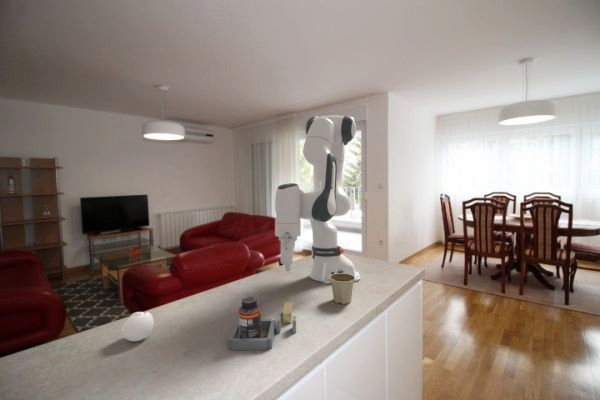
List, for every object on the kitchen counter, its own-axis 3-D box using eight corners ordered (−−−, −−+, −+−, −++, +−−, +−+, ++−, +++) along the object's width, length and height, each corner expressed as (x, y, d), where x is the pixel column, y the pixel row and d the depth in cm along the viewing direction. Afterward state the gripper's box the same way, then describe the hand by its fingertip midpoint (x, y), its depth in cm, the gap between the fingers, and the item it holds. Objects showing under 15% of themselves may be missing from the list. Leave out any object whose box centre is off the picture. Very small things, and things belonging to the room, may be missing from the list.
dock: (296, 326, 83) (296, 315, 83) (295, 349, 72) (295, 336, 72) (237, 327, 83) (237, 316, 83) (227, 350, 72) (227, 337, 72)
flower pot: (323, 301, 101) (323, 277, 100) (339, 293, 108) (338, 271, 107) (345, 308, 95) (345, 283, 94) (360, 299, 101) (360, 276, 101)
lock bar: (285, 311, 94) (284, 302, 93) (292, 311, 93) (292, 302, 93) (283, 323, 86) (283, 313, 85) (291, 323, 86) (291, 313, 85)
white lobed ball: (143, 329, 83) (142, 304, 83) (161, 335, 80) (159, 308, 80) (116, 343, 76) (114, 315, 76) (134, 350, 73) (132, 321, 72)
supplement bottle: (254, 331, 81) (252, 293, 81) (265, 339, 77) (264, 299, 76) (235, 339, 77) (234, 299, 77) (246, 348, 73) (245, 306, 72)
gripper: (296, 235, 86) (296, 279, 87) (297, 226, 107) (297, 262, 107) (275, 235, 86) (276, 279, 87) (281, 226, 107) (281, 262, 107)
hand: (288, 269), depth 97 cm, fingers closed
